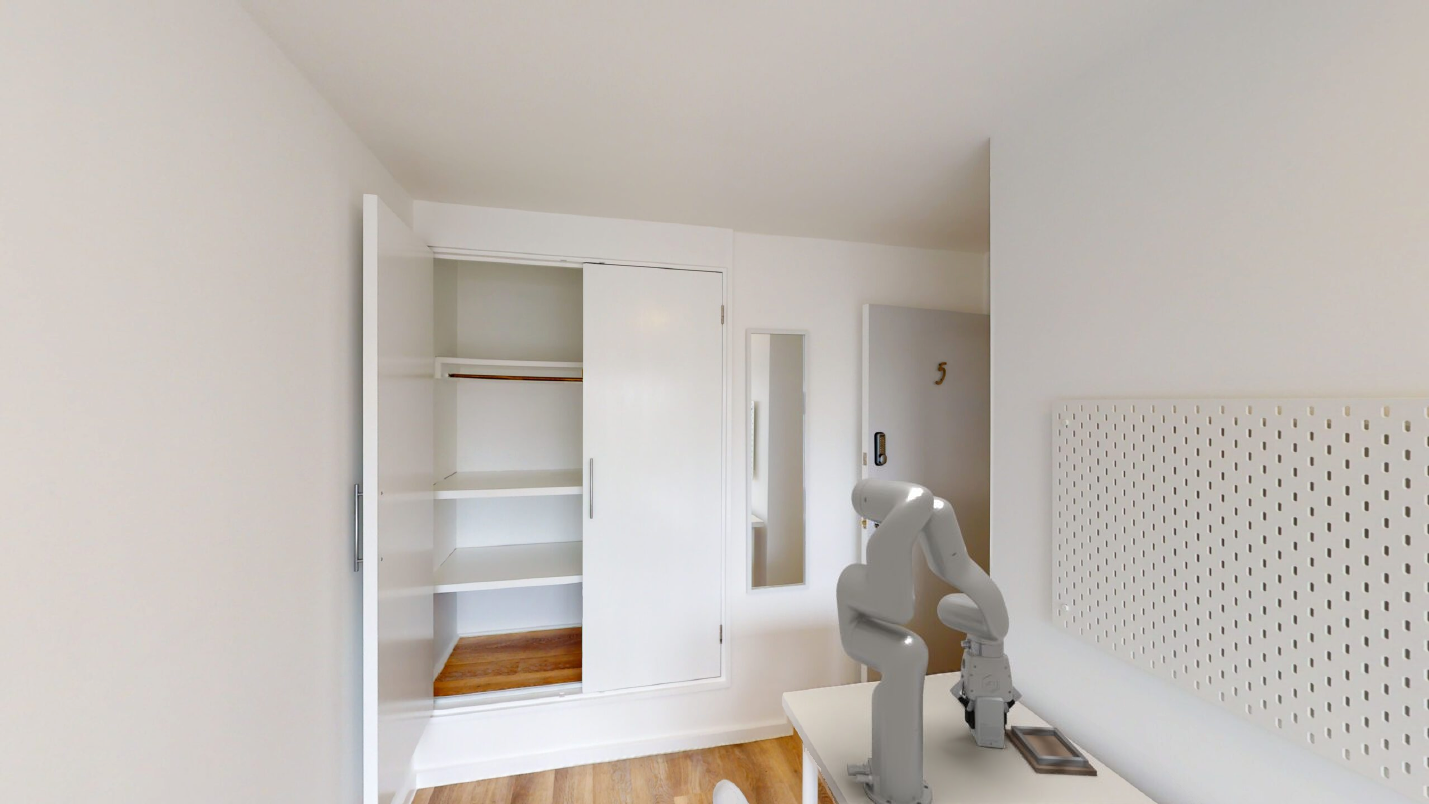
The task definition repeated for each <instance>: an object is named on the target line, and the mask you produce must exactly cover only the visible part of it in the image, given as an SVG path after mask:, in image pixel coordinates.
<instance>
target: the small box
mask: <svg viewBox="0 0 1429 804" xmlns="http://www.w3.org/2000/svg"><path fill="white" fill-rule="evenodd" d="M973 711H974V712H975V729H971V728H970V726H969V725H968V728H969V730H970V732H971V734H972V736H973V738H974V740H975V742H976V744H977V746H978V747H988V748H989V747H990V748H995V749H1005V731H1004V701H1003V699H1002V698H997V697H976V701H975V704H974V707H973Z"/></svg>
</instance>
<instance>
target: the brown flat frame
mask: <svg viewBox="0 0 1429 804" xmlns="http://www.w3.org/2000/svg"><path fill="white" fill-rule="evenodd" d="M1004 736H1006V737H1007V739H1008V740H1009V741H1010V742H1011V744H1012V745H1013V746H1014V747H1015V749H1016V750H1017V751H1018V752H1019V754H1020V755H1021V756H1022V758H1023V759H1024V760H1025V762H1026V763H1027V764H1028V765H1029V767H1031V769H1032V770H1033V771H1034V773H1035V774H1048V775H1049V774H1050V775H1067V776H1069V775H1071V776H1087V775H1088V776H1087V777H1089V776H1090V777H1097V776H1098V770H1097V769H1096V768H1094V766H1093V765H1091V763H1090V760H1089V759H1088V758H1087V757H1086V756H1085V755H1084V754H1083V753H1082V752H1081V751H1080V750H1079V749H1078V748H1077V747H1076V746H1075V745H1074V744H1073V743H1072V742H1071V741H1070V740H1069V739H1068V738H1067V737H1066V736H1065V734H1063V733H1062V731H1060V730H1059V728H1057V727H1051V726H1050V727H1046V726H1029V725H1028V726H1025V725H1010V729H1008V728H1006V730H1005V731H1004Z"/></svg>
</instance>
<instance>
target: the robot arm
mask: <svg viewBox="0 0 1429 804" xmlns="http://www.w3.org/2000/svg"><path fill="white" fill-rule="evenodd" d="M850 500H851V505H852V507H853V509H854V511H855V512H856V514H858V515H859V516H860V517H861V518H863V519H866V520H868V521H871V522H874V523H876V524H878V526H877V527H876V528H875V529H874V531H873V533H871V535H870V536H869V539H868V541H867V544H866V546H865V547H866V548H865V564H864V563H860V562H859V563H857V562H855V563H850V564H849V565H847V566H846V567H844V568H843V570H842V571H841V572H840V574H839V577H838V579H837V583H836V588H835V589H836V590H835V591H836V594H835V595H836V607H837V609H836V610H837V618H838V626H839V636H840V637H839V638H840V642H841V646H842V648H843V651H844V652H845V654H846V655H847V656H848V657H849V658H851V659H852V660H854V661H856V662H857V663H859V664H862V665H864V666H866V667H869V668H870V669H872V670H874V671H875V672H878V673H880V674H881V679H880V681H879V682H878V683H877V685H875V687H874V689H873V691H872V695H871V757H868V758H867V763H863V764H862V765H859V764H848V763H847V764H846V765H847V766H846V767H847V768H846V771H847V776H848V777H855V782H856V784H863V789H864V791H865V794H866V795H867V796H868V797H869V798H870V799H871V801H873V802H874V803H875V804H932V802H933V801H932V800H933V792H932V789H931V787H930V785H929V783H928V782H927V781H926V780H925V779H924V687H925V680H926V674H927V669H928V664H929V656H930V655H929V648H928V646H927V644H926V642H925V641H924V640H923V638H922V637H920V635H918V634H917V633H916V632H914V631H912V630H910V629H908V628H907V627H904V626H900V625H906V624H908V623H909V622H911V621H912V619H913V618H914V615H915V609H916V595H915V583H914V574H913V573H914V571H913V559H912V557H913V556H912V555H913V548H914V545H915V542H916V540H917V539H918V540H919V542H920V546H921V549H922V551H923V554H924V557H925V560H926V563H927V566H928V568H929V569H930V571H932V572H933V574H935V575H936V576H937V577H939V578H940V579H941V580H943V581H944V582H946V583H947V584H949V585H951V586H952V587H954V588H955V589H958V590H959V591H960V592H962V593H955V592H954V593H949V594H947V595H945V596H943V597H942V598H941V599H940V601H939V603H938V604H937V608H936V609H937V611H936V613H937V616H938V619H939V621H941V623H943V624H944V625H945V626H947V627H949V628H951V629H953V630H956V631H959V632H963V633H965V634H966V636H965V637H966V638H965V640H961V642H960V645H961V647H962V648H965V649H964V650H963V654H962V660H961V664H960V665H961V667H960V679H958V681H957V682H956V683H955V684H954V685H953V686H952V687H951V688H950V689H949V692H950V693H951V694H952V696H953V697H954V698H956V701H958V702H959V703H960V704H961V705H962V707H964V721H965V723H966V724H967V725H968V727H969V726H970V728H971V729H975V712H974V711H973V707H974V704H975V701H976V697H997V698H1002V699H1003V701H1004V732H1005V730H1006V729H1007V728H1006V726H1007V725H1008V713H1009V712H1010V709H1011V708H1012V707H1013V706H1014V705H1015V704H1016V702H1017V701H1019V700H1020V699H1021V698H1022V696H1023V695H1022V694H1021V693H1020V691H1019V690H1018V689H1017V688H1016V687H1015V686H1014V685H1013V677H1012V672H1011V665H1010V661H1009V659H1010V658H1009V657H1008V654H1006V653H1005V643H1004V642H1005V641H1004V640H1005V638H1006V636H1007V634H1008V633H1009V627H1010V620H1009V619H1010V618H1009V613H1008V610H1007V609H1008V608H1007V606H1006V602H1005V599H1004V596H1003V593H1002V591H1001V590H1000V587H998V585H997V584H996V582H995V581H994V580H993V579H992V578H991V577H990V575H988V573H986V572H985V571H984V569H983V568H982V567H981V566H979V564H977V563H976V562H975V561H974V560H973V559H972V558H971V557H970V555H969V553H968V549H967V546H966V544H965V541H964V538H963V535H962V530H961V528H960V524H959V523H958V519H957V516H956V513H955V510H954V508H953V506H952V504H951V503H950V501H948V500H946V499H945V498H942V497H939V496H935V495H933V493H932V491H931V490H930V489H929V488H927V487H925V486H923V485H921V484H918V483H914V482H909V481H902V480H901V481H900V480H890V479H881V478H875V477H874V478H872V477H871V478H868V477H867V478H863V479H861V480H859V481H858V482H857V483H856V484H855V485H854V486H853V489H852V491H851V499H850ZM962 691H964V692H965V697H963V696H962V694H961V692H962ZM970 728H969V729H970Z"/></svg>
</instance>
